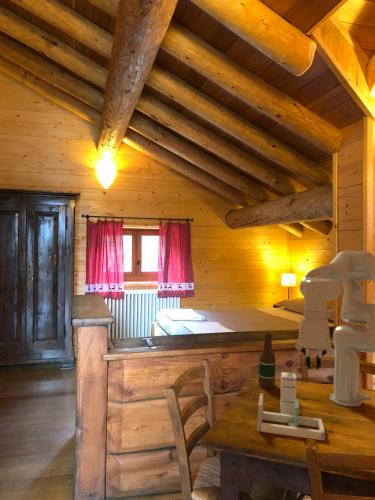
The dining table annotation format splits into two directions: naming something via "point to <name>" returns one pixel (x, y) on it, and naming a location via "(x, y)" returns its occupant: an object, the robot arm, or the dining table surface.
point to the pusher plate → (295, 415)
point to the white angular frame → (288, 429)
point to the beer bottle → (267, 364)
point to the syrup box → (288, 393)
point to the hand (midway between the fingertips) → (312, 367)
